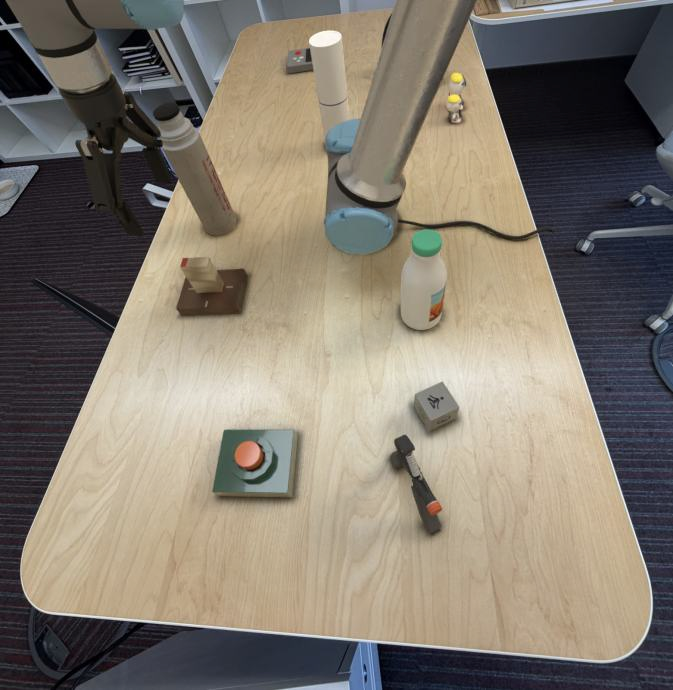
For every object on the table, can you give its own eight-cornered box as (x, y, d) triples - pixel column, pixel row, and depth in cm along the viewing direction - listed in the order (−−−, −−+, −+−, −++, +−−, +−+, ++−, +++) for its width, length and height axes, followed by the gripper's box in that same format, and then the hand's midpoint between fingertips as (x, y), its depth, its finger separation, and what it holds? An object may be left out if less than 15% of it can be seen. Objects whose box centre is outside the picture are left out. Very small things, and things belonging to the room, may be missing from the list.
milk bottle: (414, 338, 77) (419, 265, 60) (392, 309, 81) (391, 234, 64) (449, 319, 78) (464, 243, 61) (426, 292, 82) (433, 213, 65)
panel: (247, 276, 90) (243, 267, 88) (240, 313, 85) (236, 305, 83) (191, 278, 92) (186, 271, 89) (181, 315, 87) (175, 308, 84)
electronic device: (287, 49, 136) (332, 43, 135) (289, 58, 138) (333, 51, 137) (286, 65, 131) (333, 59, 129) (288, 74, 133) (334, 67, 131)
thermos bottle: (240, 213, 101) (192, 96, 77) (230, 236, 97) (176, 121, 73) (211, 211, 103) (155, 97, 79) (200, 234, 99) (137, 121, 75)
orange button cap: (265, 444, 65) (261, 440, 63) (262, 470, 63) (258, 467, 61) (241, 444, 65) (236, 440, 64) (236, 470, 63) (232, 466, 62)
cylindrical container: (321, 151, 110) (303, 46, 88) (331, 135, 113) (316, 29, 91) (346, 155, 107) (334, 47, 86) (356, 138, 111) (346, 31, 89)
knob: (224, 283, 86) (208, 255, 79) (222, 292, 85) (206, 265, 78) (199, 284, 87) (182, 257, 80) (196, 293, 86) (179, 266, 79)
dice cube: (413, 406, 70) (414, 394, 66) (439, 394, 70) (442, 381, 66) (428, 431, 67) (430, 420, 63) (455, 418, 68) (459, 407, 64)
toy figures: (461, 125, 108) (466, 92, 101) (444, 125, 109) (447, 92, 102) (463, 99, 114) (468, 66, 107) (447, 99, 115) (450, 67, 107)
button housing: (297, 435, 70) (291, 425, 66) (292, 497, 65) (284, 490, 60) (230, 435, 71) (219, 425, 67) (219, 495, 66) (207, 489, 62)
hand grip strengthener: (428, 537, 59) (437, 522, 47) (388, 459, 66) (386, 427, 53) (442, 530, 60) (455, 513, 47) (401, 452, 66) (402, 419, 53)
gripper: (99, 34, 62) (156, 161, 80) (8, 132, 49) (100, 256, 67) (146, 36, 61) (193, 164, 79) (66, 136, 48) (144, 260, 67)
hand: (151, 206), depth 73 cm, fingers open, 13 cm apart
